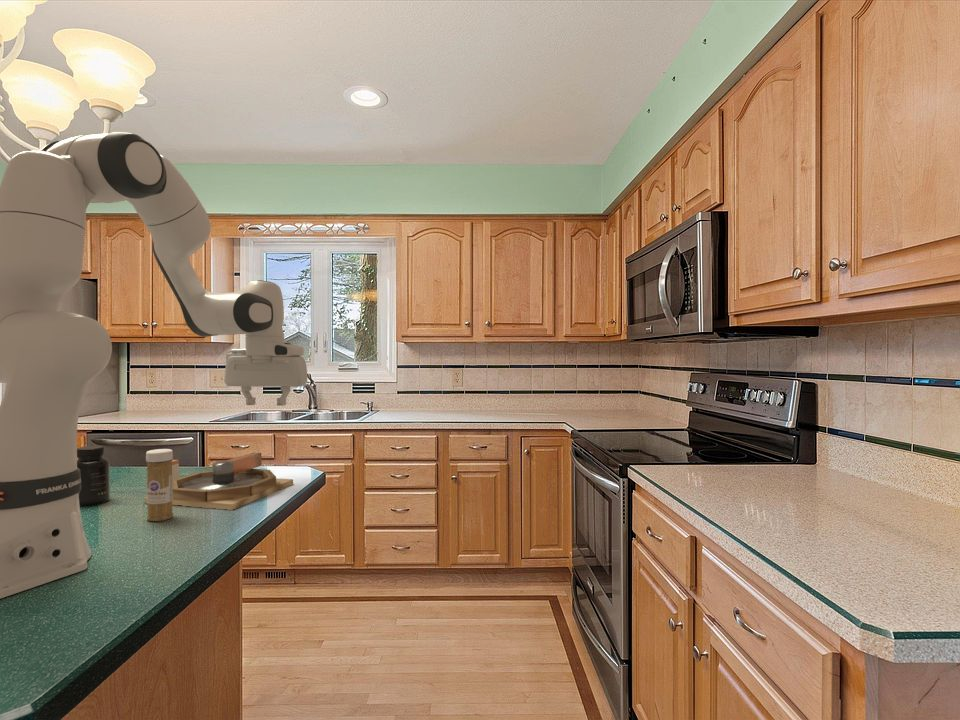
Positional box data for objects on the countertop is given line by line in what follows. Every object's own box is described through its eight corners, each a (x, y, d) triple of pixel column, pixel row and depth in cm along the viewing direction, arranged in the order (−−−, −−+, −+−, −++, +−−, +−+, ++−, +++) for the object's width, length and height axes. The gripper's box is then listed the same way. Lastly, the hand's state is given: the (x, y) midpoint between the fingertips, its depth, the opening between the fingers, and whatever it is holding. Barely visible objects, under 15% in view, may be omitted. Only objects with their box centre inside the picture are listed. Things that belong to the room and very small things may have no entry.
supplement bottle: (63, 505, 117) (62, 449, 117) (95, 496, 124) (94, 443, 124) (86, 508, 115) (85, 451, 115) (117, 499, 122) (116, 445, 121)
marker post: (171, 490, 129) (170, 462, 128) (162, 490, 129) (162, 461, 129) (179, 488, 131) (178, 460, 131) (170, 487, 132) (170, 459, 131)
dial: (229, 498, 116) (229, 472, 116) (163, 493, 120) (162, 468, 120) (287, 476, 137) (287, 454, 136) (228, 472, 141) (228, 451, 141)
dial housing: (232, 510, 113) (231, 494, 113) (144, 503, 119) (144, 487, 118) (293, 484, 135) (293, 470, 134) (216, 479, 140) (216, 466, 140)
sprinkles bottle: (143, 523, 105) (142, 453, 105) (150, 516, 109) (149, 448, 109) (170, 520, 106) (169, 451, 106) (176, 514, 111) (175, 447, 110)
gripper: (218, 348, 132) (219, 406, 133) (297, 348, 129) (298, 407, 129) (233, 348, 139) (234, 403, 139) (310, 348, 135) (310, 404, 136)
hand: (266, 405), depth 134 cm, fingers open, 7 cm apart
